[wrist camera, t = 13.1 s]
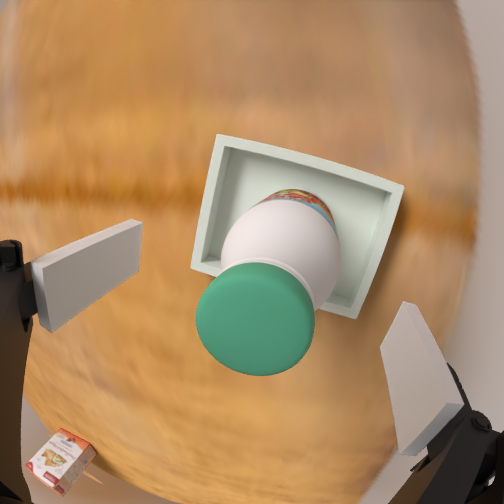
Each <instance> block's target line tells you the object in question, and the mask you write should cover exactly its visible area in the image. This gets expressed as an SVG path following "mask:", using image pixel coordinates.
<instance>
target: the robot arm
mask: <svg viewBox="0 0 504 504" xmlns="http://www.w3.org/2000/svg"><path fill="white" fill-rule="evenodd" d="M142 228H143V222H139V221H136V220H133V219H130V220H127V221H125V222H122V223H119V224H117V225H114V226H112V227H109V228H107V229H104V230H102V231H99V232H97V233H94V234H92V235H89V236H87V237H84V238H82V239H80V240H77V241H75V242H73V243H70V244H68V245H66V246H63V247H61V248H59V249H57V250H54V251H52V252H50V253H48V254H45V255H43V256H41V257H39V258H37V259H35V260H32V261H30V262H28V263H26V264H24V262H23V252H22V244H21V242H19V241H17V240H4V241H0V504H34V503H32V502H31V496H30V492H29V488H28V485H27V483H26V481H25V479H24V477H23V473H22V467H21V408H22V394H23V384H24V375H25V367H26V360H27V354H28V348H29V342H30V337H31V332H32V327H33V318H32V316H33V315H34V314H36V313H37V312H38V317H39V322H40V325H41V326H43V327H44V328H45V329H47V330H48V331H50V332H51V333H53V332H54V331H55V330H57V329H58V328H59V327H61V326H62V325H64V324H65V323H66V322H68V321H69V320H70V319H72V318H73V317H74V316H76V315H77V314H79V313H80V312H81V311H83V310H84V309H86V308H87V307H88V306H90V305H91V304H93V303H94V302H95V301H97V300H98V299H100V298H101V297H102V296H104V295H105V294H107V293H108V292H110V291H111V290H112V289H114V288H115V287H117V286H118V285H120V284H121V283H123V282H124V281H126V280H127V279H128V278H130V277H131V276H133V275H134V274H136V273H137V272H139V263H140V250H141V239H142ZM380 351H381V356H382V360H383V364H384V369H385V374H386V378H387V383H388V388H389V393H390V399H391V404H392V410H393V416H394V422H395V428H396V435H397V442H398V449H399V455H415V456H416V455H417V454H418V453H419V452H421V451H422V449H424V448H425V447H426V446H427V450H428V455H426V456H425V457H424V458H423V459H422V460H421V461H420V462H419V463H418V464H417V465H415V466H414V467H413V468H412V469H411V470H410V471H413V470H414V472H413V473H412V474H411V476H410V477H409V478H408V480H407V481H406V483H405V484H404V485H403V486H402V487H401V489H400V490H399V491H398V492H397V494H396V495H395V496H394V497H393V498H392V500H391V501H390V502H389V503H388V504H504V431H503V432H502V433H499V432H496V431H494V430H492V427H491V423H490V421H489V420H488V418H487V417H486V416H484V414H482V413H481V412H479V411H475V410H472V409H471V406H470V404H469V402H468V399H467V397H466V394H465V392H464V390H463V389H462V385H461V383H460V382H459V379H458V376H457V374H456V372H455V371H454V370H453V368H452V367H451V366H450V365H449V364H448V363H446V361H445V359H444V357H443V355H442V353H441V351H440V349H439V347H438V345H437V343H436V341H435V339H434V337H433V335H432V333H431V331H430V329H429V327H428V326H427V324H426V322H425V320H424V318H423V316H422V314H421V313H420V311H419V309H418V307H417V305H415V304H412V303H408V302H405V301H403V302H402V304H401V306H400V308H399V311H398V313H397V315H396V317H395V319H394V321H393V323H392V325H391V327H390V329H389V331H388V332H387V334H386V336H385V338H384V340H383V342H382V344H381V346H380ZM494 476H495V478H494V481H493V483H492V484H491V485H489V486H488V484H489V480H490V479H491V478H492V477H494Z"/></svg>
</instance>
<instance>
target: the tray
mask: <svg viewBox="0 0 504 504" xmlns="http://www.w3.org/2000/svg"><path fill="white" fill-rule="evenodd" d="M404 187H405V186H403V185H400V184H397V183H395V182H392V181H389V180H387V179H384V178H381V177H378V176H375V175H372V174H369V173H367V172H364V171H361V170H358V169H354V168H351V167H348V166H345V165H342V164H339V163H335V162H332V161H329V160H325V159H322V158H318V157H315V156H311V155H308V154H304V153H300V152H296V151H293V150H289V149H285V148H281V147H277V146H272V145H268V144H264V143H260V142H255V141H251V140H246V139H241V138H236V137H231V136H226V135H221V134H217V136H216V140H215V144H214V149H213V153H212V158H211V162H210V167H209V172H208V176H207V181H206V186H205V191H204V196H203V201H202V206H201V211H200V217H199V222H198V227H197V233H196V238H195V244H194V250H193V256H192V262H191V269H194V270H197V271H200V272H203V273H206V274H209V275H212V276H215V277H217V276H218V275H219V274H220V273H221V253H222V249H223V245H224V242H225V239H226V237H227V235H228V233H229V231H230V230H231V228H232V227H233V225H234V224H235V222H236V221H237V220H238V219H239V218H240V217H241V216H242V215H243V214H244V213H245V212H246V211H248V210H249V209H250V208H251V207H253V206H254V205H256V204H257V203H259V202H260V201H262V200H263V199H265V198H267V197H268V196H270V195H272V194H273V193H275V192H277V191H280V190H282V189H286V188H303V189H306V190H309V191H311V192H313V193H315V194H317V195H318V196H319V197H321V198H322V199H323V200H324V202H325V203H326V204H327V206H328V207H329V209H330V211H331V213H332V216H333V219H334V223H335V226H336V230H337V235H338V239H339V245H340V255H341V263H340V270H339V275H338V279H337V282H336V284H335V287H334V289H333V291H332V292H331V294H330V296H329V297H328V299H327V300H326V301H325V302H324V303H323V304H322V306H321V307H320V308H318V309H321V310H325V311H328V312H331V313H335V314H338V315H342V316H345V317H349V318H353V319H356V318H357V316H358V314H359V312H360V309H361V307H362V305H363V302H364V300H365V298H366V295H367V293H368V291H369V288H370V286H371V283H372V281H373V278H374V276H375V273H376V271H377V268H378V265H379V263H380V260H381V257H382V255H383V252H384V249H385V246H386V244H387V241H388V238H389V235H390V232H391V229H392V226H393V223H394V220H395V217H396V214H397V210H398V207H399V204H400V201H401V197H402V194H403V190H404Z"/></svg>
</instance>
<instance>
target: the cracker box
mask: <svg viewBox="0 0 504 504" xmlns="http://www.w3.org/2000/svg"><path fill="white" fill-rule="evenodd" d="M96 455H97V453H96V451H95V450H94V449H93V447H92V446H91V444H90V443H88V442H86V441H84V440H82V439H80V438H78V437H76V436H75V435H73V434H71V433H69V432H67V431H65V430H64V429H62V428H61V429H60V430H59V431H58V432H57V433H56V434H55V435H54V436H53V437H52V438H51V439H50V440H49V441H48V442H47V443H46V444H45V445H44V446H43V447H42V448H41V449H40V450H39V451H38V452H37V453H36V455H35V456H34V457H33V458H32V459H31V460H30V461H29V462H28V463H27V464H26V465H25V466H26V467H27V469H29V471H30V472H31V473H32V474H33V475H34V476H35V477H37V478H38V479H39V480H40V481H41V482H43V483H44V484H45V485H47V486H48V487H49V488H51V489H52V490H54V491H55V492H56V493H57V494H59V495H60V496H62V497H63V496H64V494H66V492H67V491H68V490H69V488H70V487H71V486H72V485H73V484H74V482H75V481H76V480H77V479H78V477H79V476H80V475H81V474H82V472H83V471H84V470H85V469H86V467H87V466H88V465H89V464H90V462H91V461H92V460H93V459H94V457H95V456H96Z"/></svg>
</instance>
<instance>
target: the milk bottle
mask: <svg viewBox="0 0 504 504" xmlns="http://www.w3.org/2000/svg"><path fill="white" fill-rule="evenodd" d="M340 263H341V255H340V245H339V239H338V235H337V230H336V226H335V223H334V219H333V216H332V213H331V211H330V209H329V207H328V206H327V204H326V203H325V202H324V200H323V199H322V198H321V197H319V196H318V195H317V194H315V193H313V192H311V191H309V190H306V189H303V188H286V189H282V190H280V191H277V192H275V193H273V194H272V195H270V196H268V197H267V198H265V199H263V200H262V201H260V202H259V203H257V204H256V205H254V206H253V207H251V208H250V209H249V210H248V211H246V212H245V213H244V214H243V215H242V216H241V217H240V218H239V219H238V220H237V221H236V222H235V224H234V225H233V227H232V228H231V230H230V231H229V233H228V235H227V237H226V239H225V242H224V245H223V249H222V253H221V273H220V274H219V275H218V276H217V277H216V278H215V279H214V280H213V281H212V282H211V283H210V285H209V286H208V287H207V288H206V290H205V291H204V293H203V294H202V296H201V298H200V300H199V303H198V307H197V311H196V326H197V331H198V334H199V337H200V339H201V341H202V343H203V345H204V346H205V348H206V349H207V350H208V352H209V353H210V354H211V355H212V356H213V357H214V358H215V359H216V360H218V361H219V362H220V363H222V364H223V365H225V366H226V367H228V368H230V369H232V370H234V371H237V372H240V373H243V374H247V375H253V376H268V375H274V374H278V373H281V372H284V371H286V370H288V369H290V368H291V367H293V366H294V365H296V364H297V363H298V362H299V361H300V360H301V359H302V358H303V356H304V355H305V353H306V352H307V350H308V349H309V347H310V344H311V342H312V338H313V333H314V326H315V311H316V310H317V309H318V308H320V307H321V306H322V304H323V303H324V302H325V301H326V300H327V299H328V297H329V296H330V294H331V292H332V291H333V289H334V287H335V284H336V282H337V279H338V275H339V270H340Z"/></svg>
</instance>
